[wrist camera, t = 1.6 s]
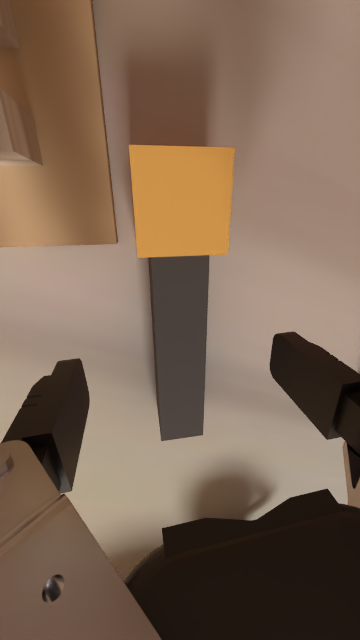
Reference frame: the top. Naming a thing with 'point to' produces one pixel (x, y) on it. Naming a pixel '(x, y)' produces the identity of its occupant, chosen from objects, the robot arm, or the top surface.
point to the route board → (52, 127)
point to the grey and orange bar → (180, 266)
